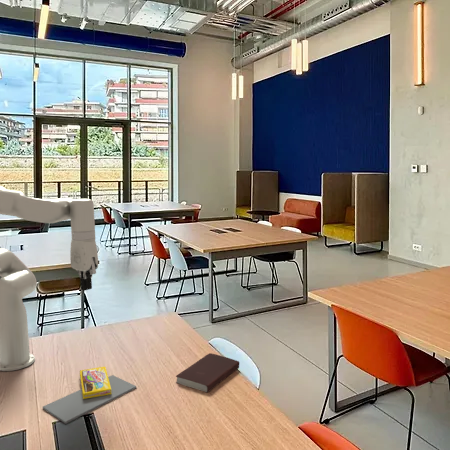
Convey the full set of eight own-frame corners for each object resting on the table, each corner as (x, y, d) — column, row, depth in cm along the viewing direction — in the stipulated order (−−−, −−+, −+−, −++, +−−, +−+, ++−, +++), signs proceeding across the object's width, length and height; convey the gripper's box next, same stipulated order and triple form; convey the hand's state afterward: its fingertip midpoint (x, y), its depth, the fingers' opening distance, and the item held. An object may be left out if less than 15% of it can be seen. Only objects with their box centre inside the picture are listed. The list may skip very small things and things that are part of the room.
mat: (42, 408, 123) (42, 406, 123) (112, 376, 142) (112, 375, 142) (65, 423, 116) (65, 421, 116) (136, 388, 134) (136, 386, 134)
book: (240, 369, 147) (239, 360, 146) (207, 394, 131) (207, 384, 130) (209, 361, 153) (209, 352, 153) (175, 384, 137) (174, 374, 137)
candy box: (79, 369, 141) (105, 365, 144) (79, 375, 141) (105, 372, 144) (82, 393, 126) (112, 388, 129) (82, 400, 126) (112, 395, 129)
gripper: (61, 235, 147) (64, 288, 149) (86, 239, 137) (89, 295, 139) (81, 232, 152) (84, 283, 155) (106, 236, 143) (109, 290, 145)
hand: (86, 289), depth 147 cm, fingers closed
